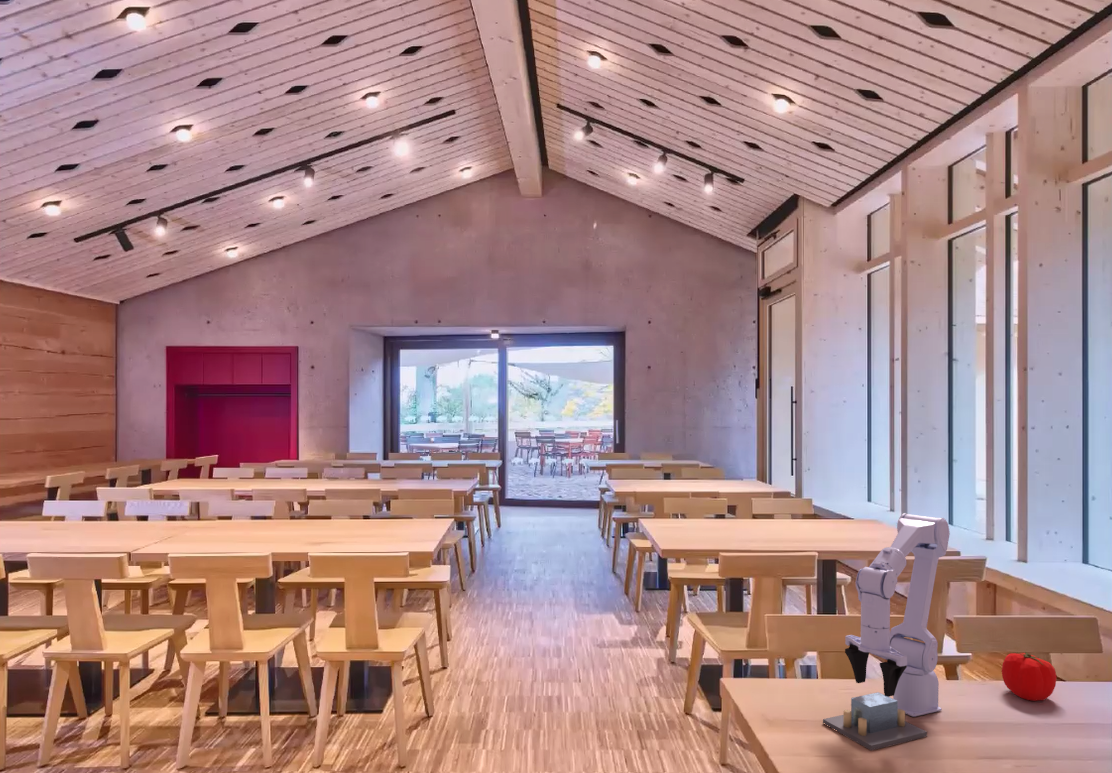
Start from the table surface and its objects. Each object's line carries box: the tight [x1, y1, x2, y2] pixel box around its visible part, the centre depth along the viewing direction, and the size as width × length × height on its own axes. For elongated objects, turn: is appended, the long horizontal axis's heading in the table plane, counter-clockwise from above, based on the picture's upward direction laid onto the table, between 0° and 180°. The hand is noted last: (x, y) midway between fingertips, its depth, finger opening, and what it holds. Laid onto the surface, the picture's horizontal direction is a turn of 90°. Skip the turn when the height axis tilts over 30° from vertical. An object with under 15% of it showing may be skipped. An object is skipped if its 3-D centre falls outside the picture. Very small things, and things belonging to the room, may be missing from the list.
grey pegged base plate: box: [822, 709, 928, 751], centre depth 156 cm, size 16×13×4 cm
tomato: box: [1001, 651, 1057, 702], centre depth 175 cm, size 11×13×10 cm
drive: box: [850, 692, 898, 734], centre depth 156 cm, size 8×5×6 cm, turn 114°
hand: (874, 688), depth 156 cm, fingers open, 7 cm apart
